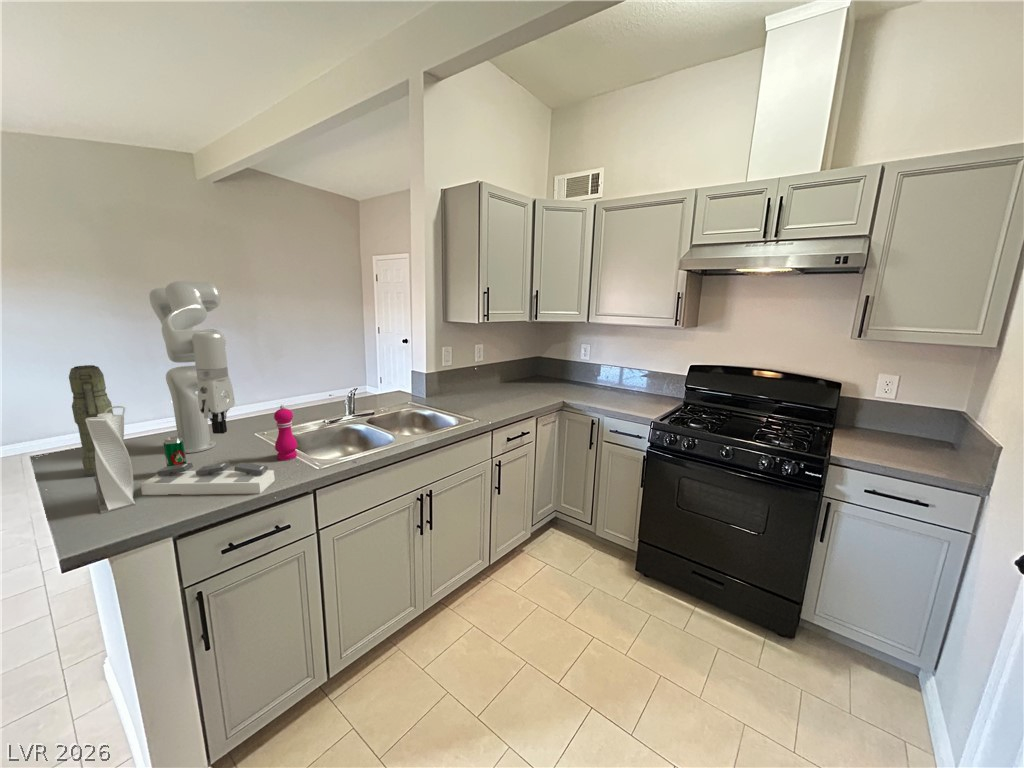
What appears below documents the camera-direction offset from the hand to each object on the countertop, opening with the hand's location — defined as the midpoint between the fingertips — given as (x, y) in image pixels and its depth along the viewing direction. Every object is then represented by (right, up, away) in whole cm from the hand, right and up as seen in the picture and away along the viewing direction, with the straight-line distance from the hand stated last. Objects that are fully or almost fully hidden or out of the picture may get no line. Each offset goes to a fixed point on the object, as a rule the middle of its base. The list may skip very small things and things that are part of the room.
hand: (220, 432), depth 124 cm
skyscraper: (-21, -19, -10) cm, 30 cm away
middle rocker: (-4, -12, +2) cm, 13 cm away
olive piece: (-46, -14, +10) cm, 49 cm away
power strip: (-4, -17, +1) cm, 18 cm away
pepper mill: (+6, -12, +26) cm, 29 cm away
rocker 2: (+7, -12, +3) cm, 15 cm away
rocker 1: (-15, -12, +1) cm, 19 cm away
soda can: (-22, -15, +11) cm, 28 cm away
